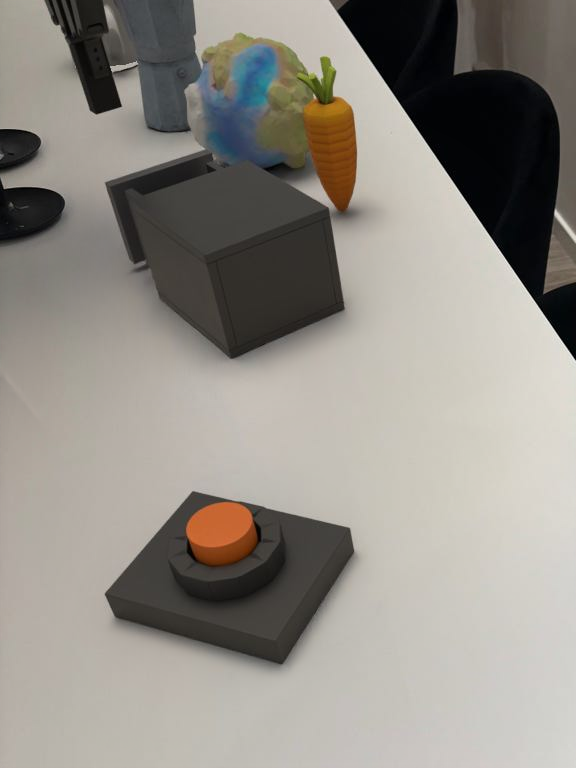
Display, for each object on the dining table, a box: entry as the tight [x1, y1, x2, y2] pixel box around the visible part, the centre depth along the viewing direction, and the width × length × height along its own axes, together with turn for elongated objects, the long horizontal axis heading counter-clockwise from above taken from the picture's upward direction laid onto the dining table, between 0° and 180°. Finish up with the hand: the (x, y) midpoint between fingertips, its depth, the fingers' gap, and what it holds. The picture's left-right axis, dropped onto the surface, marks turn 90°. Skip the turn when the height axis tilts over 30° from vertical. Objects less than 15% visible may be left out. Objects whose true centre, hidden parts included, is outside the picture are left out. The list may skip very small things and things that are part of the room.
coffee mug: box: [67, 0, 138, 66], centre depth 134 cm, size 13×10×10 cm
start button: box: [186, 502, 258, 567], centre depth 59 cm, size 4×4×2 cm
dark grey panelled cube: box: [130, 160, 346, 359], centre depth 85 cm, size 14×12×10 cm
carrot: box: [297, 55, 358, 213], centre depth 96 cm, size 5×5×15 cm
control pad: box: [104, 490, 355, 665], centre depth 61 cm, size 12×10×4 cm
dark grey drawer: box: [104, 148, 224, 267], centre depth 90 cm, size 17×10×8 cm, turn 40°
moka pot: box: [114, 0, 202, 132], centre depth 115 cm, size 10×15×20 cm, turn 57°
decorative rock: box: [184, 31, 315, 170], centre depth 107 cm, size 14×16×15 cm
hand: (106, 108), depth 94 cm, fingers closed
